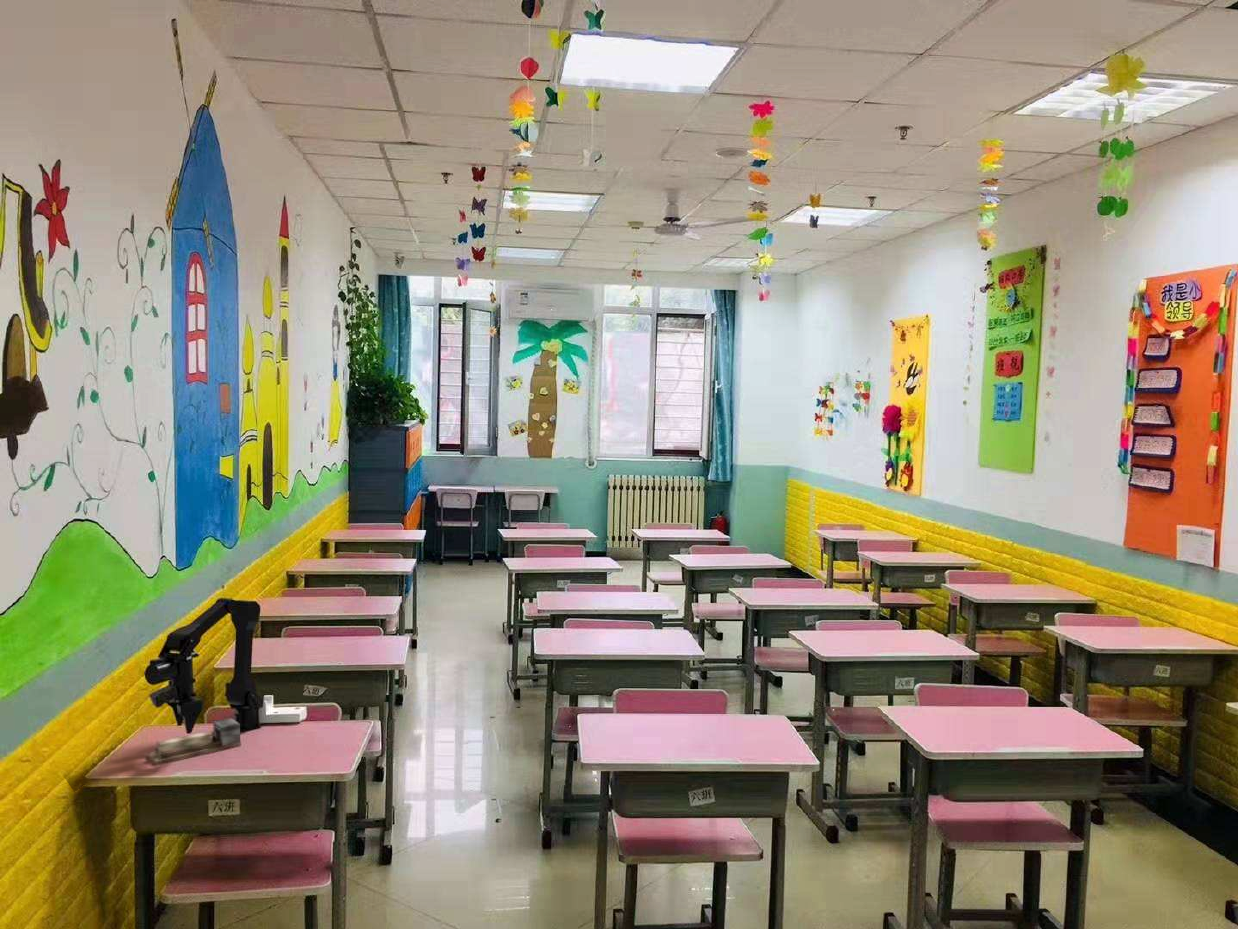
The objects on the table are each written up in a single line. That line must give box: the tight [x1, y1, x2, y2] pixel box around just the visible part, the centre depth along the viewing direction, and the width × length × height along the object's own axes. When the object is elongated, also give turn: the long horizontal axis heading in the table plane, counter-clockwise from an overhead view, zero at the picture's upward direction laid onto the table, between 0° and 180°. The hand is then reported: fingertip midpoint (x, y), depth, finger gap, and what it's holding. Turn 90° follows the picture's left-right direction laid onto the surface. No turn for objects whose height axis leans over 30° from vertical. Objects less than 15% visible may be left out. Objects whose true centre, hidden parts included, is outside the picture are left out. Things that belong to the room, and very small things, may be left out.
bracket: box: [259, 694, 308, 724], centre depth 296 cm, size 13×7×8 cm, turn 92°
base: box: [147, 717, 242, 766], centre depth 269 cm, size 23×9×6 cm, turn 130°
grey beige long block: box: [156, 730, 213, 757], centre depth 267 cm, size 14×3×4 cm, turn 130°
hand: (184, 729), depth 267 cm, fingers open, 9 cm apart
